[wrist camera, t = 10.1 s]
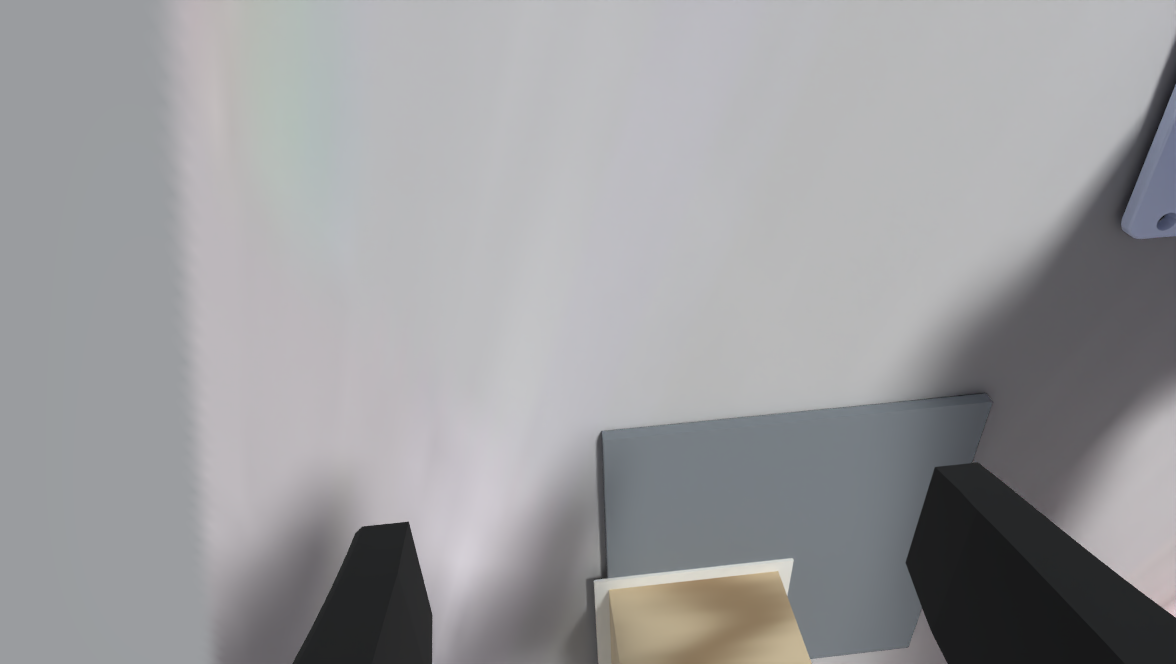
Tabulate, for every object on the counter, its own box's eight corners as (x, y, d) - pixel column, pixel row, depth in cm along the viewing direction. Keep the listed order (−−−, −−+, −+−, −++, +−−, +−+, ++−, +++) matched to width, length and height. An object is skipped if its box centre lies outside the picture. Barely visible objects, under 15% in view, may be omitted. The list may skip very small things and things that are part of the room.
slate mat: (986, 393, 25) (994, 403, 24) (901, 645, 32) (906, 656, 32) (585, 432, 24) (586, 444, 23) (598, 681, 32) (599, 693, 31)
